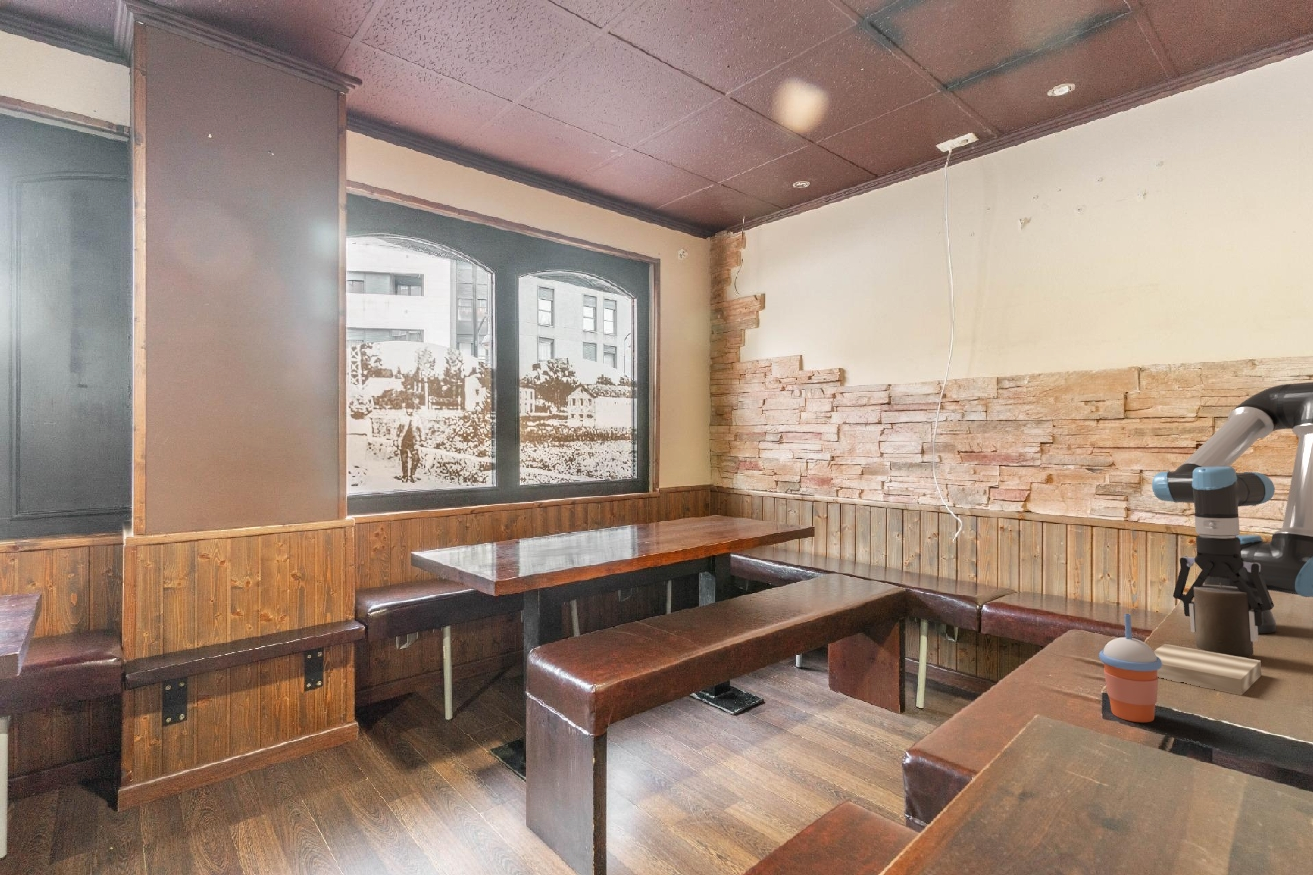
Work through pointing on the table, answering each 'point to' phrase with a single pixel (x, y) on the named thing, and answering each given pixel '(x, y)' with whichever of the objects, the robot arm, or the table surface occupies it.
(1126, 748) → the table surface
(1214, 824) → the table surface
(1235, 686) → the wooden block
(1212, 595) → the pillar candle
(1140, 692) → the cup with straw
